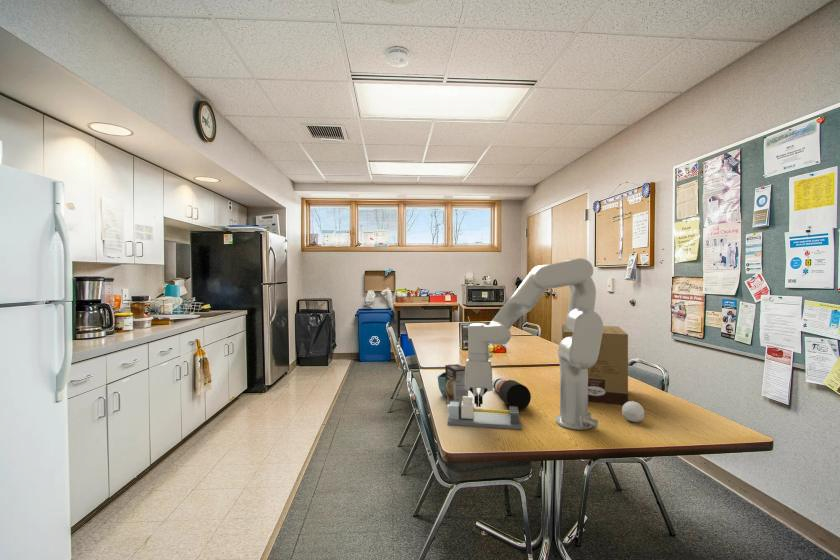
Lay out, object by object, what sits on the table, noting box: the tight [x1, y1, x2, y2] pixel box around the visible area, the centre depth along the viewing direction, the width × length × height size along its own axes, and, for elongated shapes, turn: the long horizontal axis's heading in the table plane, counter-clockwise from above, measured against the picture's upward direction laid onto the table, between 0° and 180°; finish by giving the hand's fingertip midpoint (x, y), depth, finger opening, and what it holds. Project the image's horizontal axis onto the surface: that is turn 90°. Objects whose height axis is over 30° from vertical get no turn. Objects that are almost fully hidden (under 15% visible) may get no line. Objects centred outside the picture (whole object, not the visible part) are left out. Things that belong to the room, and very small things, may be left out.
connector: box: [446, 401, 461, 419], centre depth 139 cm, size 5×5×5 cm
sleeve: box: [461, 395, 475, 419], centre depth 138 cm, size 4×5×7 cm
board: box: [447, 405, 522, 430], centre depth 137 cm, size 26×10×5 cm, turn 80°
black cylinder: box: [492, 377, 532, 411], centre depth 164 cm, size 10×34×10 cm, turn 2°
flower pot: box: [437, 371, 446, 397], centre depth 168 cm, size 9×9×9 cm
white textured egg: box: [621, 400, 650, 423], centre depth 135 cm, size 10×7×7 cm
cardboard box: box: [561, 323, 629, 406], centre depth 169 cm, size 26×26×30 cm
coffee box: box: [444, 363, 469, 405], centre depth 155 cm, size 9×6×16 cm
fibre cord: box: [473, 407, 510, 415], centre depth 137 cm, size 22×1×1 cm, turn 80°
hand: (478, 405), depth 137 cm, fingers closed
